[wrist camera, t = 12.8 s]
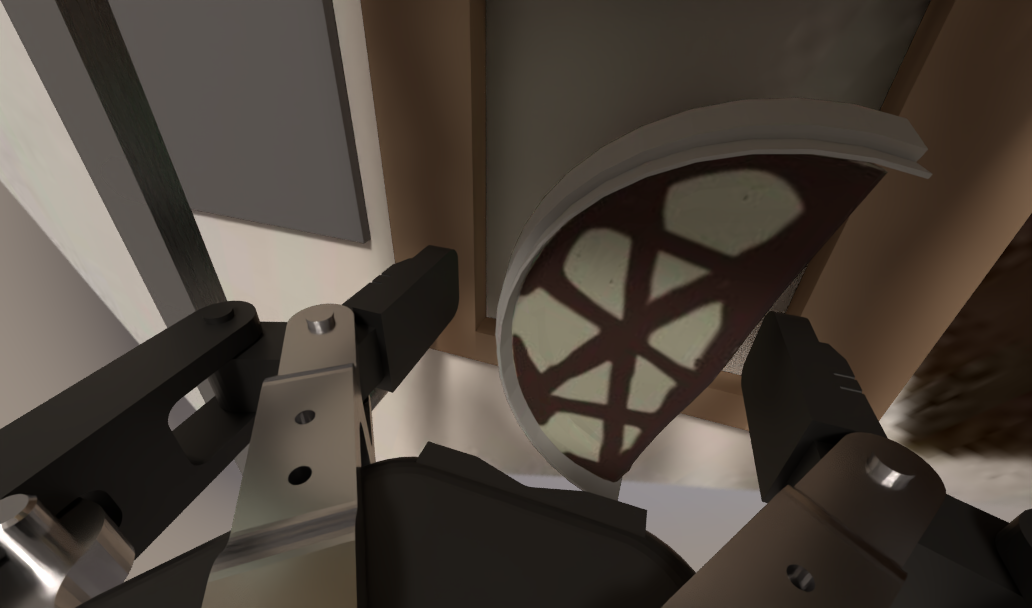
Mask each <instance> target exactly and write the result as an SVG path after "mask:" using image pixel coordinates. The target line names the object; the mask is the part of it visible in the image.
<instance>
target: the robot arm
mask: <svg viewBox="0 0 1032 608" xmlns="http://www.w3.org/2000/svg"><path fill="white" fill-rule="evenodd" d="M458 305H459V270H458V255H457V252H456V251H455V250H454V249H449V248H444V247H439V246H433V245H428V246H426V247H425V248H424V249H423V250H422V251H420V252H419V253H418V254H417V255H415V256H414V257H413V258H408V259H406V260H403V261H401V262H398V263H395V264H393V265H392V266H390V267H389V268H388V269H387V270H385V271H384V272H383V273H382V275H379V276H378V277H376V278H375V279H374V280H373V281H372V283H369V284H367V285H366V286H365V287H364V288H362V289H361V290H360V291H359V292H357V293H356V294H355V295H353V296H352V297H351V298H350V299H348V300H347V301H346V302H344V303H343V304H342V305H339V304H320V305H315V306H311V307H308V308H306V309H303V310H301V311H299V312H298V313H296V314H295V315H293V316H292V317H291V318H290V319H289V321H288V322H260V321H259V318H258V315H257V312H256V309H255V307H254V306H253V305H252V304H250V303H247V302H243V301H226V302H220V303H215V304H212V305H209V306H206V307H203V308H201V309H199V310H197V311H195V312H193V313H192V314H190V315H188V316H187V317H185V318H183V319H182V320H180V321H178V322H177V323H175V324H174V325H172V326H170V327H169V328H167V329H165V330H164V331H162V332H160V333H159V334H157V335H155V336H154V337H152V338H150V339H149V340H147V341H145V342H144V343H142V344H140V345H139V346H137V347H135V348H134V349H132V350H131V351H129V352H127V353H126V354H124V355H122V356H121V357H119V358H117V359H116V360H114V361H112V362H111V363H109V364H108V365H106V366H104V367H102V368H101V369H99V370H97V371H96V372H94V373H92V374H91V375H89V376H88V377H86V378H84V379H83V380H81V381H79V382H78V383H76V384H74V385H73V386H71V387H69V388H68V389H66V390H64V391H63V392H61V393H59V394H58V395H56V396H55V397H53V398H51V399H49V400H48V401H46V402H45V403H43V404H41V405H40V406H38V407H36V408H35V409H33V410H31V411H30V412H28V413H26V414H25V415H23V416H21V417H20V418H18V419H16V420H15V421H13V422H12V423H10V424H8V425H6V426H5V427H3V428H2V429H0V608H1032V509H1029V510H1025V511H1024V512H1023V513H1021V514H1020V515H1019V516H1018V517H1016V518H1015V519H1014V520H1013V521H1011V522H1010V523H1008V522H1006V521H1004V520H1001V519H1000V518H997V517H995V516H993V515H990V514H989V513H986V512H984V511H982V510H980V509H977V508H975V507H973V506H971V505H969V504H967V503H964V502H962V501H960V500H958V499H956V498H954V497H952V496H950V495H948V494H946V489H945V486H944V484H943V482H942V480H941V478H940V477H939V475H938V474H937V473H936V471H935V470H934V469H933V468H932V467H931V466H930V465H929V464H928V463H927V462H925V461H924V460H923V459H922V458H921V457H919V456H918V455H917V454H915V453H914V452H912V451H911V450H909V449H908V448H906V447H904V446H902V445H900V444H899V443H897V442H894V441H892V440H890V439H888V438H887V436H886V434H885V432H884V430H883V429H882V427H881V425H880V423H879V421H878V419H877V417H876V415H875V413H874V411H873V409H872V408H871V406H870V404H869V402H868V400H867V398H866V396H865V394H862V391H863V390H862V389H861V387H860V385H859V383H858V381H857V380H855V375H854V373H853V371H852V370H851V368H850V366H849V364H848V362H847V360H846V359H845V358H844V357H843V356H842V355H840V354H839V353H838V352H837V351H836V350H835V349H834V348H833V347H832V346H831V345H829V344H827V343H822V342H819V340H818V338H817V336H816V334H815V332H814V330H813V328H812V325H811V323H810V321H809V320H808V319H807V318H805V317H800V316H794V315H789V314H784V313H779V312H774V311H770V312H769V313H768V314H767V315H766V316H765V318H764V320H763V322H762V325H761V327H760V329H759V331H758V334H757V336H756V338H755V340H754V343H753V345H752V347H751V349H750V352H749V354H748V356H747V358H746V361H745V363H744V366H743V370H742V376H741V388H742V394H743V399H744V405H745V410H746V416H747V421H748V427H749V433H750V438H751V444H752V449H753V455H754V460H755V466H756V471H757V477H758V482H759V488H760V493H761V499H762V502H766V503H768V504H767V505H766V506H765V507H764V508H762V509H761V510H760V511H759V513H757V514H756V515H755V516H754V517H753V518H752V519H751V520H750V521H749V522H748V523H747V524H746V525H745V526H744V527H743V528H742V529H741V530H740V531H739V532H738V533H737V534H736V535H735V536H734V537H733V538H732V539H731V540H730V541H729V542H728V543H727V544H726V545H725V546H723V547H722V549H721V550H719V551H718V552H717V553H716V554H715V555H714V556H713V557H712V558H711V559H710V560H709V561H708V562H707V563H706V564H705V565H704V566H703V567H702V568H701V569H700V570H699V571H698V572H697V573H696V572H695V571H694V570H693V569H692V568H691V567H690V566H689V565H688V564H687V562H686V561H685V560H684V559H682V557H681V556H680V555H678V554H677V553H676V552H675V551H674V550H673V549H672V548H671V547H670V546H668V545H667V544H666V543H664V542H663V541H662V540H660V539H659V538H657V537H656V536H655V535H653V534H651V533H650V532H648V531H646V517H647V510H645V509H641V508H638V507H635V506H632V505H629V504H625V503H622V502H619V501H616V500H613V499H610V498H607V497H603V496H600V495H597V494H594V493H591V492H586V491H573V490H560V489H548V488H534V487H528V486H525V485H523V484H521V483H519V482H517V481H516V480H514V479H512V478H511V477H509V476H508V475H506V474H504V473H503V472H501V471H499V470H498V469H496V468H495V467H493V466H491V465H490V464H488V463H486V462H485V461H483V460H481V459H480V458H478V457H476V456H473V455H470V454H467V453H463V452H460V451H457V450H454V449H451V448H448V447H444V446H441V445H438V444H435V443H432V442H428V443H427V444H426V446H425V447H424V449H423V451H422V452H421V454H420V455H419V457H399V458H392V459H387V460H383V461H379V462H376V459H375V447H374V435H373V423H372V410H371V401H370V396H369V394H370V393H371V392H372V391H373V390H374V389H375V388H379V389H382V390H385V391H389V392H392V393H393V392H394V391H395V389H396V388H397V387H398V386H399V385H400V383H401V382H402V381H403V380H404V378H405V377H406V376H407V375H408V373H409V372H410V371H411V370H412V369H413V367H414V366H415V365H416V364H417V362H418V361H419V360H420V359H421V357H422V356H423V355H424V354H425V352H426V351H427V350H428V349H429V348H430V346H431V345H432V344H433V343H434V341H435V340H436V339H437V338H438V336H439V335H440V334H441V333H442V332H443V330H444V329H445V328H446V327H447V325H448V324H449V323H450V322H451V320H452V319H453V318H454V316H455V314H456V312H457V309H458ZM206 379H208V381H209V383H210V386H211V388H212V390H213V392H214V394H215V396H214V397H213V398H212V399H210V400H209V401H208V402H207V403H206V404H204V405H203V406H202V407H201V408H200V409H198V410H197V411H196V412H195V413H194V414H192V415H191V416H190V417H189V418H188V419H186V420H185V421H184V422H183V423H182V424H180V425H179V426H178V427H177V428H175V429H174V430H173V431H171V429H170V427H169V425H168V416H169V413H170V410H171V409H172V407H173V406H174V405H175V403H176V402H177V401H179V400H180V399H181V398H182V397H184V396H185V395H186V394H187V393H189V392H190V391H191V390H193V389H194V388H195V387H196V386H198V385H199V384H200V383H202V382H203V381H204V380H206ZM249 443H250V445H249V449H248V454H247V459H246V463H245V468H244V473H243V477H242V482H241V487H240V491H239V496H238V501H237V505H236V510H235V515H234V519H233V524H232V529H231V531H229V532H227V533H225V534H223V535H221V536H219V537H216V538H214V539H212V540H210V541H208V542H206V543H204V544H202V545H200V546H198V547H196V548H194V549H192V550H190V551H188V552H186V553H183V554H181V555H180V556H177V557H175V558H173V559H171V560H169V561H167V562H165V563H163V564H161V565H159V566H157V567H155V568H153V569H151V570H149V571H146V572H144V573H142V574H140V575H138V576H136V577H134V578H132V579H130V580H128V581H126V582H124V580H125V579H126V577H127V576H128V574H129V572H130V570H131V568H132V565H133V562H134V560H135V559H136V558H137V557H138V556H139V555H140V554H141V553H142V552H143V551H144V550H145V549H146V548H147V547H148V546H149V545H150V544H151V543H152V542H153V541H154V540H155V539H156V538H157V537H158V536H159V535H160V534H161V533H162V532H163V531H164V530H165V529H166V527H168V526H169V525H170V524H171V523H172V522H173V520H175V519H176V518H177V517H178V516H179V514H181V512H182V511H183V510H184V509H185V508H186V507H187V506H188V505H189V504H190V503H191V502H192V501H193V500H194V499H195V498H196V497H197V496H198V495H199V494H200V493H201V492H202V491H203V490H204V489H205V488H206V487H207V486H208V485H209V484H210V483H211V482H212V481H213V480H214V479H215V478H216V477H217V476H218V475H219V474H220V472H222V471H223V470H224V469H225V468H226V467H227V466H228V465H229V464H230V462H231V461H232V460H233V459H234V458H235V457H236V456H237V455H238V454H239V453H240V452H241V451H242V450H243V449H244V448H245V447H246V446H247V445H248V444H249ZM123 582H124V583H123Z"/></svg>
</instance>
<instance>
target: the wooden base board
mask: <svg viewBox="0 0 1032 608" xmlns="http://www.w3.org/2000/svg"><path fill="white" fill-rule="evenodd" d="M361 8H362V15H363V23H364V31H365V38H366V46H367V53H368V61H369V68H370V76H371V84H372V91H373V99H374V106H375V114H376V121H377V129H378V137H379V144H380V152H381V159H382V167H383V174H384V182H385V190H386V197H387V205H388V212H389V220H390V227H391V235H392V243H393V250H394V258H395V263H398V262H401V261H403V260H406V259H408V258H413V257H414V256H415V255H417V254H418V253H419V252H420V251H422V250H423V249H424V248H425V247H426V246H428V245H433V246H439V247H444V248H449V249H454V250H455V251H456V252H457V255H458V270H459V305H458V309H457V312H456V314H455V316H454V318H453V319H452V320H451V322H450V323H449V324H448V325H447V327H446V328H445V329H444V330H443V332H442V333H441V334H440V335H439V336H438V338H437V339H436V340H435V341H434V343H433V344H432V345H431V346H430V348H431V349H435V350H439V351H443V352H446V353H450V354H454V355H458V356H462V357H466V358H470V359H474V360H477V361H481V362H485V363H489V364H493V365H497V366H498V358H497V344H496V336H495V333H496V319H493V318H489V317H486V0H361ZM880 111H881V112H885V113H888V114H892V115H896V116H899V117H903V118H906V119H908V120H909V122H910V123H911V125H912V126H913V128H914V129H915V131H916V132H917V134H918V135H919V137H920V138H921V139H922V141H923V142H924V144H925V145H926V147H927V148H928V150H927V151H926V152H925V153H924V155H923V156H922V157H921V158H920V159H919V160H918V161H917V163H918V164H919V165H921V166H922V167H924V168H925V169H926V170H928V171H929V172H931V173H932V175H931V177H930V178H929V179H926V178H923V177H919V176H916V175H913V174H909V173H906V172H902V171H899V170H896V169H892V168H889V167H885V166H882V165H879V164H875V163H872V164H874V165H877V166H879V167H882V168H884V169H885V170H886V171H888V173H887V174H886V175H885V176H884V177H883V178H882V179H881V181H880V182H879V183H878V184H877V185H876V186H875V187H874V189H873V190H872V191H871V192H870V193H869V194H868V195H867V197H866V198H865V199H864V200H863V201H862V202H861V203H860V205H859V206H858V207H857V208H856V209H855V210H854V211H853V213H852V214H851V215H850V216H849V217H848V218H847V219H846V221H845V222H844V223H843V224H842V225H841V226H840V227H839V229H838V230H837V231H836V232H835V233H834V234H833V235H832V237H831V238H830V239H829V240H828V241H827V242H826V243H825V245H824V246H823V247H822V248H821V249H820V250H819V251H818V253H817V254H816V255H815V256H814V257H813V258H812V260H811V261H810V262H809V264H808V266H807V268H806V270H805V272H804V275H803V277H802V279H801V281H800V283H799V285H798V287H797V290H796V292H795V294H794V296H793V298H792V300H791V302H790V305H789V307H788V309H787V311H786V313H785V314H789V315H794V316H800V317H805V318H807V319H808V320H809V321H810V323H811V325H812V328H813V330H814V332H815V334H816V336H817V338H818V340H819V342H822V343H827V344H829V345H831V346H832V347H833V348H834V349H835V350H836V351H837V352H838V353H839V354H840V355H842V356H843V357H844V358H845V359H846V360H847V362H848V364H849V366H850V368H851V370H852V371H853V373H854V375H855V380H857V381H858V383H859V385H860V387H861V389H862V390H863V391H862V394H865V396H866V398H867V400H868V402H869V404H870V406H871V408H872V409H873V411H874V413H875V415H876V417H877V419H878V421H879V420H880V419H881V417H882V416H883V415H884V413H885V412H886V411H887V409H888V408H889V407H890V405H891V404H892V402H893V401H894V400H895V398H896V397H897V396H898V394H899V393H900V392H901V390H902V389H903V387H904V386H905V385H906V383H907V382H908V381H909V379H910V378H911V377H912V375H913V374H914V372H915V371H916V370H917V368H918V367H919V366H920V364H921V363H922V362H923V360H924V359H925V357H926V356H927V355H928V353H929V352H930V351H931V349H932V348H933V347H934V345H935V344H936V343H937V341H938V340H939V338H940V337H941V336H942V334H943V333H944V332H945V330H946V329H947V328H948V326H949V325H950V323H951V322H952V321H953V319H954V318H955V317H956V315H957V314H958V313H959V311H960V310H961V308H962V307H963V306H964V304H965V303H966V302H967V300H968V299H969V298H970V296H971V295H972V293H973V292H974V291H975V289H976V288H977V287H978V285H979V284H980V283H981V281H982V280H983V278H984V277H985V276H986V274H987V273H988V272H989V270H990V269H991V268H992V266H993V265H994V263H995V262H996V261H997V259H998V258H999V257H1000V255H1001V254H1002V253H1003V251H1004V250H1005V248H1006V247H1007V246H1008V244H1009V243H1010V242H1011V240H1012V239H1013V238H1014V236H1015V235H1016V234H1017V232H1018V231H1019V229H1020V228H1021V227H1022V225H1023V224H1024V223H1025V221H1026V220H1027V219H1028V217H1029V216H1030V214H1031V213H1032V0H931V2H930V4H929V6H928V8H927V10H926V12H925V14H924V17H923V19H922V21H921V23H920V25H919V27H918V30H917V32H916V34H915V36H914V38H913V40H912V42H911V45H910V47H909V49H908V51H907V53H906V55H905V57H904V60H903V62H902V64H901V66H900V68H899V70H898V73H897V75H896V77H895V79H894V81H893V83H892V85H891V88H890V90H889V92H888V94H887V96H886V98H885V100H884V103H883V105H882V107H881V109H880ZM869 163H871V162H869ZM681 413H682V414H686V415H690V416H694V417H697V418H701V419H705V420H709V421H713V422H717V423H721V424H724V425H728V426H732V427H736V428H740V429H744V430H748V431H749V427H748V421H747V416H746V410H745V405H744V399H743V394H742V388H741V375H737V374H733V373H728V372H724V371H721V372H720V373H719V374H718V376H717V377H716V378H715V379H714V381H713V382H712V383H711V384H710V385H709V386H708V387H707V388H706V389H705V390H704V391H703V392H702V393H701V394H700V395H699V396H698V397H697V398H696V399H695V400H694V401H693V402H692V403H691V404H690V405H688V406H687V407H686V408H685V409H684V410H683V411H682V412H681Z"/></svg>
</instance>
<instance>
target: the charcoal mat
mask: <svg viewBox="0 0 1032 608" xmlns="http://www.w3.org/2000/svg"><path fill="white" fill-rule="evenodd" d="M108 2H109V4H110V7H111V9H112V12H113V14H114V17H115V19H116V22H117V25H118V27H119V30H120V32H121V35H122V37H123V40H124V42H125V45H126V47H127V50H128V52H129V55H130V57H131V60H132V62H133V65H134V67H135V70H136V72H137V75H138V77H139V80H140V83H141V85H142V88H143V90H144V93H145V95H146V98H147V100H148V103H149V105H150V108H151V110H152V113H153V115H154V118H155V120H156V123H157V125H158V128H159V130H160V133H161V135H162V138H163V141H164V143H165V146H166V148H167V151H168V153H169V156H170V158H171V161H172V163H173V166H174V168H175V171H176V173H177V176H178V178H179V181H180V183H181V186H182V188H183V191H184V193H185V196H186V199H187V201H188V204H189V206H190V209H193V210H198V211H203V212H208V213H213V214H218V215H223V216H228V217H233V218H238V219H243V220H248V221H253V222H259V223H264V224H269V225H274V226H279V227H284V228H289V229H294V230H299V231H304V232H309V233H314V234H319V235H324V236H329V237H334V238H339V239H344V240H349V241H354V242H359V243H365V242H367V241H368V240H370V233H369V227H368V221H367V215H366V209H365V202H364V196H363V190H362V184H361V178H360V172H359V165H358V159H357V153H356V147H355V141H354V135H353V128H352V122H351V116H350V110H349V104H348V98H347V91H346V85H345V79H344V73H343V67H342V61H341V54H340V48H339V42H338V36H337V30H336V24H335V18H334V11H333V5H332V0H108Z"/></svg>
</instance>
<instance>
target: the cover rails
mask: <svg viewBox="0 0 1032 608" xmlns="http://www.w3.org/2000/svg"><path fill="white" fill-rule="evenodd" d="M1 2H2V4H3V6H4V8H5V10H6V12H7V14H8V16H9V18H10V20H11V22H12V24H13V26H14V28H15V29H16V31H17V33H18V35H19V37H20V39H21V41H22V43H23V45H24V47H25V49H26V51H27V53H28V55H29V57H30V59H31V61H32V63H33V65H34V67H35V69H36V71H37V73H38V75H39V77H40V79H41V81H42V83H43V84H44V86H45V88H46V90H47V92H48V94H49V96H50V98H51V100H52V102H53V104H54V106H55V108H56V110H57V112H58V114H59V116H60V118H61V120H62V122H63V124H64V126H65V128H66V130H67V132H68V134H69V136H70V138H71V140H72V141H73V143H74V145H75V147H76V149H77V151H78V153H79V155H80V157H81V159H82V161H83V163H84V165H85V167H86V169H87V171H88V173H89V175H90V177H91V179H92V181H93V183H94V185H95V187H96V189H97V191H98V193H99V195H100V197H101V198H102V200H103V202H104V204H105V206H106V208H107V210H108V212H109V214H110V216H111V218H112V220H113V222H114V224H115V226H116V228H117V230H118V232H119V234H120V236H121V238H122V240H123V242H124V244H125V246H126V248H127V250H128V252H129V253H130V255H131V257H132V259H133V261H134V263H135V265H136V267H137V269H138V271H139V273H140V275H141V277H142V279H143V281H144V283H145V285H146V287H147V289H148V291H149V293H150V295H151V297H152V299H153V301H154V303H155V305H156V307H157V309H158V310H159V312H160V314H161V316H162V318H163V320H164V322H165V324H166V326H167V328H169V327H170V326H172V325H174V324H175V323H177V322H178V321H180V320H182V319H183V318H185V317H187V316H188V315H190V314H192V313H193V312H195V311H197V310H199V309H201V308H203V307H206V306H209V305H212V304H215V303H220V302H226V301H227V299H226V297H225V294H224V292H223V289H222V287H221V284H220V282H219V279H218V277H217V274H216V272H215V269H214V267H213V264H212V262H211V259H210V257H209V254H208V251H207V249H206V246H205V244H204V241H203V239H202V236H201V234H200V231H199V229H198V226H197V224H196V221H195V219H194V216H193V214H192V211H191V209H190V206H189V204H188V201H187V199H186V196H185V193H184V191H183V188H182V186H181V183H180V181H179V178H178V176H177V173H176V171H175V168H174V166H173V163H172V161H171V158H170V156H169V153H168V151H167V148H166V146H165V143H164V141H163V138H162V135H161V133H160V130H159V128H158V125H157V123H156V120H155V118H154V115H153V113H152V110H151V108H150V105H149V103H148V100H147V98H146V95H145V93H144V90H143V88H142V85H141V83H140V80H139V77H138V75H137V72H136V70H135V67H134V65H133V62H132V60H131V57H130V55H129V52H128V50H127V47H126V45H125V42H124V40H123V37H122V35H121V32H120V30H119V27H118V25H117V22H116V19H115V17H114V14H113V12H112V9H111V7H110V4H109V2H108V0H1ZM197 387H198V389H199V391H200V393H201V395H202V397H203V399H204V401H205V403H207V402H208V401H209V400H210V399H212V398H213V397H214V396H215V394H214V392H213V390H212V388H211V386H210V383H209V381H208V379H206V380H204V381H203V382H202V383H200V384H199V385H198V386H197ZM387 393H388V391H385V390H382V389H379V388H375V389H374V390H373V391H372V392H371V393H370V394H369V396H370V401H371V410H373V409H374V408H375V407H376V406H377V404H378V403H379V402H380V401H381V400H382V398H383V397H384V396H385V395H386V394H387ZM249 445H250V443H249V444H248V445H247V446H246V447H245V448H244V449H243V450H242V451H241V452H240V453H239V454H238V455H237V456H236V457H235V458H234V460H235V462H236V464H237V465H238V467H239V470H240V472H241V473H242V475H243V473H244V468H245V463H246V459H247V454H248V449H249Z"/></svg>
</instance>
